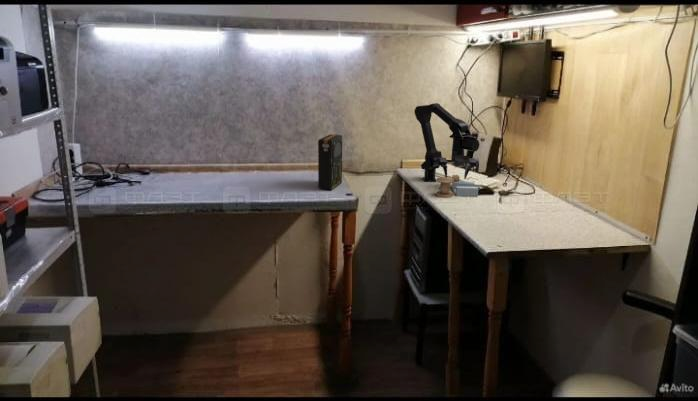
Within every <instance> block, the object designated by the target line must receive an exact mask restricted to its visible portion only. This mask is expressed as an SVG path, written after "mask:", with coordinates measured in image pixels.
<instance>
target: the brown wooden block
mask: <svg viewBox="0 0 698 401" xmlns="http://www.w3.org/2000/svg"><path fill="white" fill-rule="evenodd" d="M452 179H454V182H460V176H459V175H458V174H452ZM452 187H453V183H451V188H452Z"/></svg>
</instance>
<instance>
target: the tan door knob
mask: <svg viewBox="0 0 698 401" xmlns="http://www.w3.org/2000/svg"><path fill="white" fill-rule="evenodd" d="M436 180H437V181H436V182H437V183H440V185H439V186H440V187H439V190H437V191H436V192H435V195H436V197H438V198H452V197H453V196H454V192H452V191H450V186H451V184H452V183H453V182H454V179H452V178H451V177H448V176H447V177H445V176H444V177H443V176H442V177H438V178H437V179H436Z"/></svg>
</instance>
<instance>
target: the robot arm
mask: <svg viewBox="0 0 698 401" xmlns="http://www.w3.org/2000/svg"><path fill="white" fill-rule="evenodd" d="M432 114H435V115H436V116H437V117H438V118H440V119H441V121H443V122H444V123H445V124H446V125H448V128H449V131H451V132H452V134H450V135H449V138H451V139H452V147H451V157H450V158H451V159H447V158H446V157H443V155H442V151H441V150H438V149H437V148H436V142H435V139H434V134H433V129H432V125H431V120H432V119H431V118H432V116H433V115H432ZM414 116H415V118H416V120H417V121H418V122H419V124H420V128H421V132H422V137H423V141H424V146H425V149H426V152H425V155H424V161H423V162H422V163H421V164H420V167H421V169H422V170H424V174H423V175H424V176H423V177H422V179H423V180H422V181H424V182H437V179H436V172H437V169H439V168H440V167H441V168H442V169H443V172H444V177H447V178H448V164H452V165H454V166H455V167H458V166H459V167H464V180H466V179H467V176H468V174H469V172H470V170H471V169H473V168H475V167H477V166H478V161H477V160H476V159H475V157H472V158H471V157H470V155H465V151H471V152H477V151H479V148H480V141H479V140H478V137H477V136H472V135H473V134H472V133H471V129H470V128H469V126H468V125H469V124H468V123H467V122H466V121H464V120H462V119H459V118H457V117H455V116H453V115H452V114H451V113H450V112H449V111H447V110H446V109H445V108H444V107H443V106H441V104H440V103H438V102H436V103H430V104H423V105H417V106H416V107H415V109H414Z"/></svg>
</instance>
